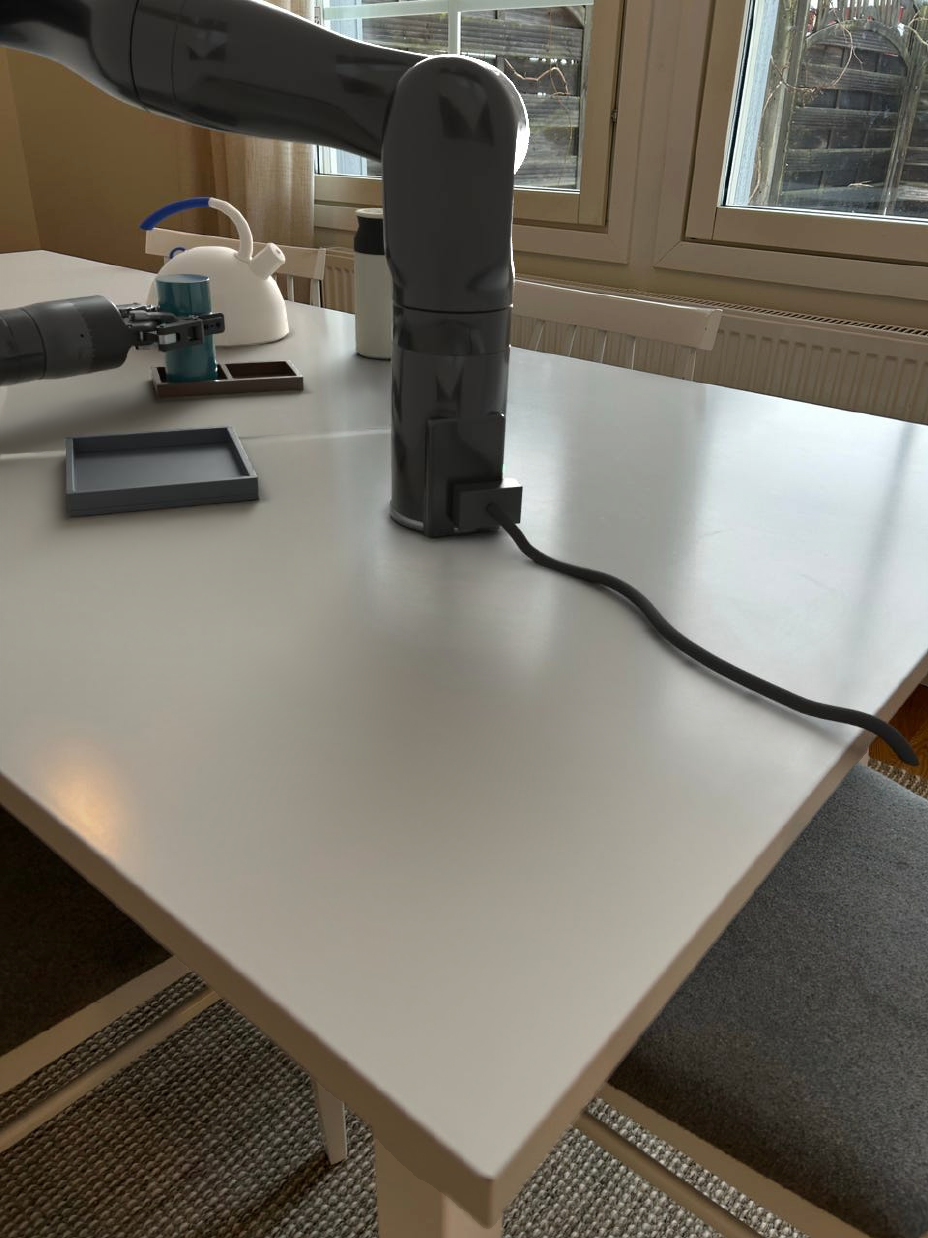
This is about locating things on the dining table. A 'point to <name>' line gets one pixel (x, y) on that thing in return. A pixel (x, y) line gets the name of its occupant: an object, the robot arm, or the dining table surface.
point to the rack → (234, 380)
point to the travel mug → (371, 287)
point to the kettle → (231, 278)
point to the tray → (156, 470)
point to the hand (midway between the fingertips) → (203, 317)
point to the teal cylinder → (184, 300)
